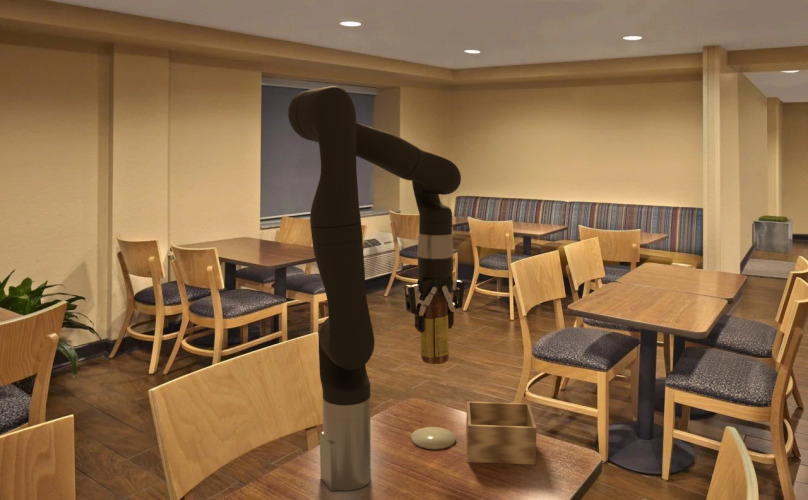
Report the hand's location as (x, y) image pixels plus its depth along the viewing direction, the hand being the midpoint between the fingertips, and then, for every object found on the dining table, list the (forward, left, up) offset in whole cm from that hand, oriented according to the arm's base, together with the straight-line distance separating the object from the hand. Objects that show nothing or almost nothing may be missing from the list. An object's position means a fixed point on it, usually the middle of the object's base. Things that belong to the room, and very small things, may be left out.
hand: (434, 329), depth 142 cm
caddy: (+11, -10, -26) cm, 30 cm away
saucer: (0, 0, -26) cm, 26 cm away
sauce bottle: (0, 0, -7) cm, 7 cm away
